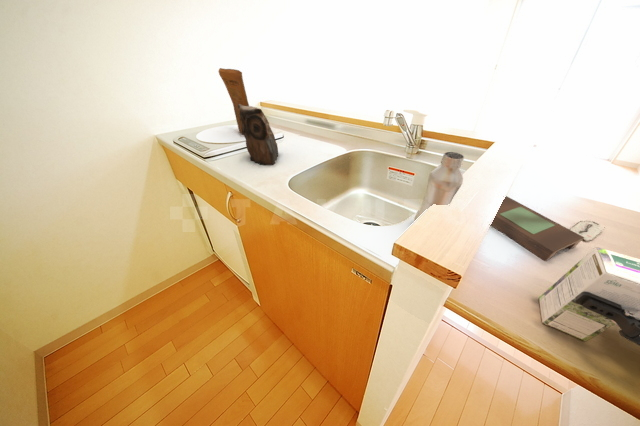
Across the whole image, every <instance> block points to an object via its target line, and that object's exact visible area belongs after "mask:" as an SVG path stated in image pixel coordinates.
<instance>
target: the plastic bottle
mask: <svg viewBox="0 0 640 426" xmlns="http://www.w3.org/2000/svg"><path fill="white" fill-rule="evenodd" d="M464 161H465V156H464V154H462V153H459V152H456V151H445V152H444V153H443V155H442V158H441V159H440V165H439V164H438V166H436V167H434V169H433V170H431V172H430V173H429V175H428V177H427V184H426V189H425V194H424V197H423V201H422V203H421V205H420V207H419V209H418V211H417V212H416V213H415V216H414V217H413V222H414V221H415V220H416V219H417V218H418V217H419V216H420V215H421V214H422V213H423V212H424V211H425V210H426V209H428V208H429V207H430V206H432V205H433V204H436V205H448V204H450V205H451V203H452V201H453V200H454V198H455V196H456V195H457V193H458V191H459V190H460V188H461V187H462V185H463V184H464V183H463V182H464V176H463V174H462V171H461V167H463V162H464Z"/></svg>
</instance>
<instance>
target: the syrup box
mask: <svg viewBox="0 0 640 426" xmlns="http://www.w3.org/2000/svg"><path fill="white" fill-rule="evenodd" d="M581 292H589V293H592V294H594V295H597V296H599V297H602V298H604V299H607V300H609V301H612V302H614V303H617V304H619V305H621V307H622V309H625V308H628V309H634V310H640V258H637V257H634V256H630V255H626V254H624V253H623V254H622V253H620V252H616V251H612V250H610V249H609V250H608V249H605V248H601V247H598V246H594V247H593V248H592V249H591V250H590V251H589V252H587V253H586V254H585V256H583V257H582V258H580V260H579V261H577V263H576V264H574V265H573V266H572V267H571V268H570V269H568V271H567V272H565V273H564V274H563V275H562V276H561V277H560V278H559V279H558V280H557V281H555V282H554V283H553V284H552V285H551V286H550V287H549V288H548V289H547V290H546V291H545V292H544V293H542V294H541V295H540V296H539V297H538V301H539V310H540V316H541V317H540V318H541V322H542V324H543V325H546V326H548V327H550V328H553V329H555V330H557V331H559V332H562V333H565V334H567V335H569V336H572V337H573V338H576V339H578V340H581V341H583V342H587V341H590V340H591V339H593V338H595V337H596V336H598V335H599V334H601V333H604V332H605V331H607V330H608V329H610V328H612V327H614V326H615V325H616V324H614V323H613V322H612V321H611V320H610V318H607V317H605V316H603V315H600V314H598V313H596V312H593V311H591V310H588V309H586V308H585V307H583V306H582V305H579V304H577V303H576V300H575V297H576V296H578V295H579V294H580V293H581Z"/></svg>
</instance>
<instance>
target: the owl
mask: <svg viewBox="0 0 640 426" xmlns="http://www.w3.org/2000/svg"><path fill="white" fill-rule="evenodd" d="M238 108H239V111H240V116H241V120H242V133H243V135H242V136H244V139H245V147H246V150H247V152H248V154H249V161H250V162H253V163H254V164H258V165H260V166H274V165H276V162H277V159H278V157H279V147H278V142H277V140H276V137H275V134H274V132H273V130H272V127H271V125H270V122H269V121H268V118H267V116H266V114H265V113H264V111H263V110H262V109H261V108H258V107H256V106H251V105H249V106H243V105H241V104H239V105H238Z"/></svg>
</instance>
